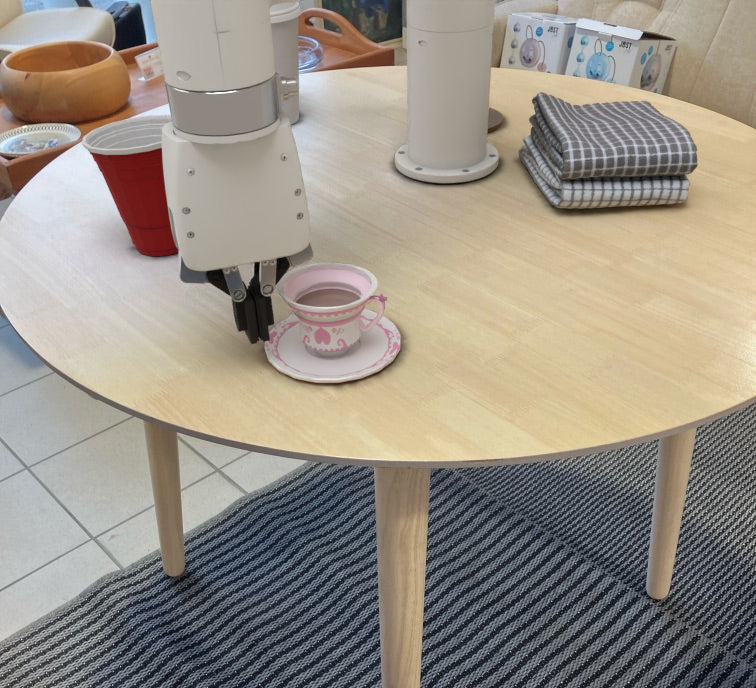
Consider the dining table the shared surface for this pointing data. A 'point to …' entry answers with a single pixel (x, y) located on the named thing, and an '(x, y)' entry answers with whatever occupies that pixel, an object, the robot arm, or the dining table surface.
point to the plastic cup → (136, 178)
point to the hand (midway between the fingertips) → (256, 334)
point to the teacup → (331, 325)
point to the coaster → (494, 120)
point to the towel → (607, 154)
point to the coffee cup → (287, 49)
